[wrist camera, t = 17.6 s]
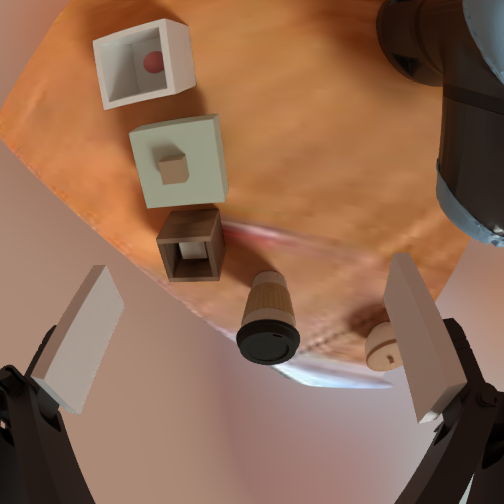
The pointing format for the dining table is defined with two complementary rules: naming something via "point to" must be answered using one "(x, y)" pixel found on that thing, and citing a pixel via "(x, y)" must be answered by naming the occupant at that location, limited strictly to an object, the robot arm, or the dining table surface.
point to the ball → (154, 62)
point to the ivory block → (194, 250)
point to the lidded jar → (382, 348)
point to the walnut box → (192, 230)
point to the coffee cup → (268, 322)
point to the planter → (131, 63)
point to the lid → (180, 161)
